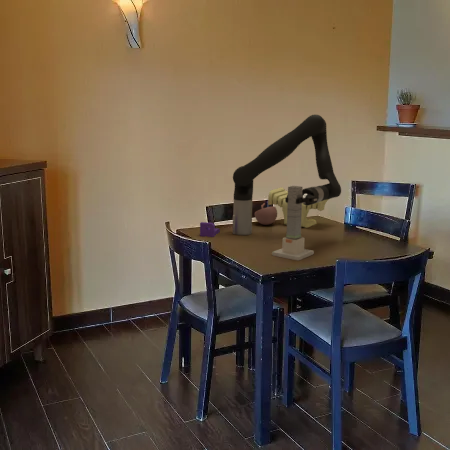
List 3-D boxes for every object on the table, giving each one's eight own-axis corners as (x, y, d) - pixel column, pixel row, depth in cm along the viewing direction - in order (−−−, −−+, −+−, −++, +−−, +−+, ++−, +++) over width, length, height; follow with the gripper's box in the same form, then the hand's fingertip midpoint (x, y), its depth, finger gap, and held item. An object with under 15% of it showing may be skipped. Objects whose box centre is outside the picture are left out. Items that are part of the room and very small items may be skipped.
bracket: (213, 237, 279) (213, 223, 278) (200, 236, 281) (200, 223, 279) (219, 232, 291) (220, 218, 289) (206, 231, 292) (206, 218, 291)
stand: (298, 260, 240) (298, 243, 238) (272, 255, 247) (272, 238, 246) (313, 254, 250) (314, 237, 248) (288, 249, 257) (288, 232, 256)
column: (295, 239, 244) (297, 188, 239) (286, 237, 247) (287, 186, 242) (301, 237, 247) (302, 186, 243) (291, 235, 250) (293, 185, 245)
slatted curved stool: (267, 223, 309) (268, 191, 305) (280, 218, 322) (281, 187, 318) (319, 230, 293) (321, 196, 289) (331, 225, 306) (333, 192, 303)
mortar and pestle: (267, 221, 315) (267, 200, 313) (281, 225, 306) (282, 204, 303) (249, 224, 308) (250, 202, 306) (264, 228, 299) (264, 206, 296)
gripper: (298, 185, 258) (277, 190, 245) (326, 188, 249) (306, 193, 236) (297, 202, 259) (276, 207, 246) (325, 205, 251) (305, 211, 238)
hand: (291, 200), depth 241 cm, fingers closed on column, 4 cm apart
